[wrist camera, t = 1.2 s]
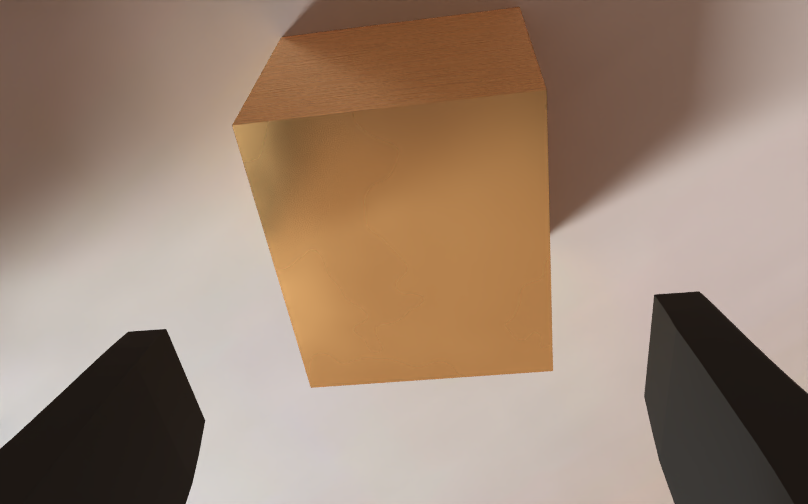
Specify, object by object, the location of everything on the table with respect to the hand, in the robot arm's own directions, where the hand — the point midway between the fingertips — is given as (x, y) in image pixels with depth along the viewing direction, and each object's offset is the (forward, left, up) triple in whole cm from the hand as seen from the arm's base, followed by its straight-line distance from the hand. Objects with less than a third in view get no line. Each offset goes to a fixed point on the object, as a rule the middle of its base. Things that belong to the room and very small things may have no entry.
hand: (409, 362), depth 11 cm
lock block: (0, 0, -7) cm, 7 cm away
